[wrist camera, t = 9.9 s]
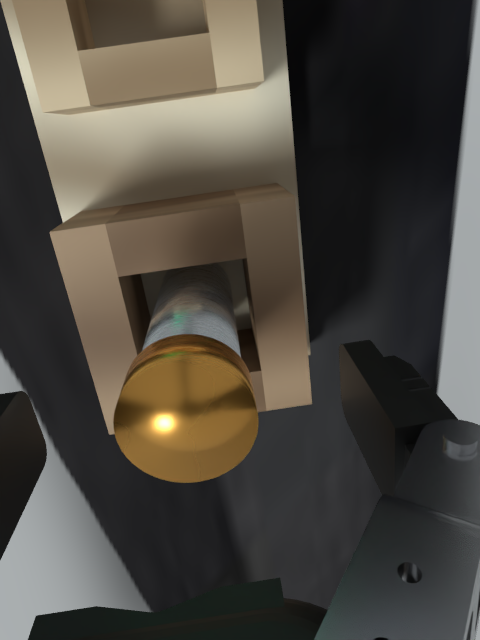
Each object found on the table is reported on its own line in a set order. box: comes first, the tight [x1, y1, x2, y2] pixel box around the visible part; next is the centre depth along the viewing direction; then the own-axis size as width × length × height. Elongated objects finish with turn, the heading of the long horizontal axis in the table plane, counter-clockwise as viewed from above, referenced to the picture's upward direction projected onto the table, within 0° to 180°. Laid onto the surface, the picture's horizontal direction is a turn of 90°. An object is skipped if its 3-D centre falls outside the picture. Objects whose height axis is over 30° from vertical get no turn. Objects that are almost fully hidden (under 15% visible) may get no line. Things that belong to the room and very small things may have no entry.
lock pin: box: [113, 263, 258, 483], centre depth 15 cm, size 3×3×10 cm
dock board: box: [0, 0, 312, 435], centre depth 17 cm, size 18×10×5 cm, turn 7°
